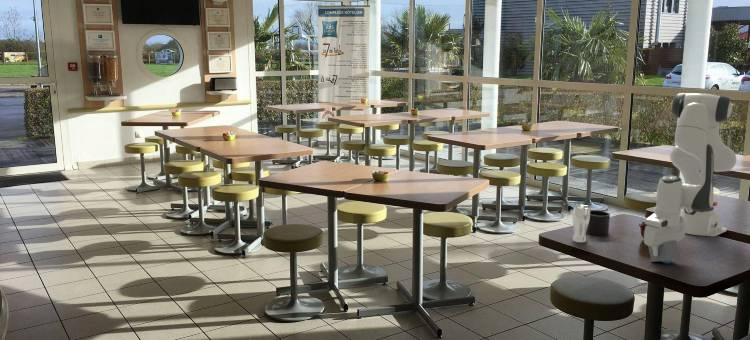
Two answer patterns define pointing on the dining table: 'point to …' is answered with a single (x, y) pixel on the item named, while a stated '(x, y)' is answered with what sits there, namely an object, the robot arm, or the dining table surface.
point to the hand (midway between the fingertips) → (663, 253)
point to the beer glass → (580, 223)
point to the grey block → (665, 252)
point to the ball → (667, 261)
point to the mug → (598, 223)
